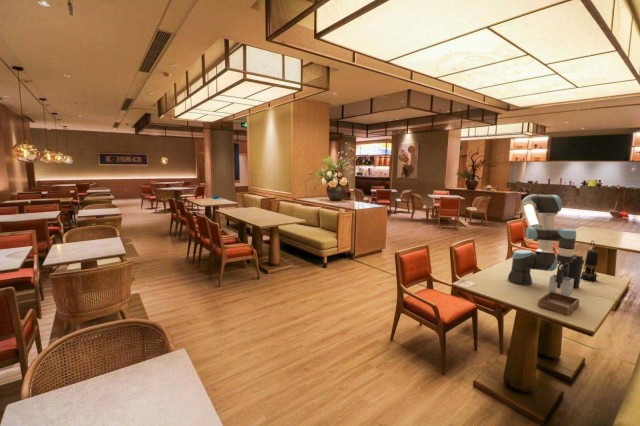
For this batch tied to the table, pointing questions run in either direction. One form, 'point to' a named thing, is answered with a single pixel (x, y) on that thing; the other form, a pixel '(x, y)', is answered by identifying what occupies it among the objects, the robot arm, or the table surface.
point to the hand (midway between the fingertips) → (560, 291)
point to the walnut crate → (558, 303)
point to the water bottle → (576, 270)
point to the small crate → (566, 286)
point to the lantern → (590, 265)
